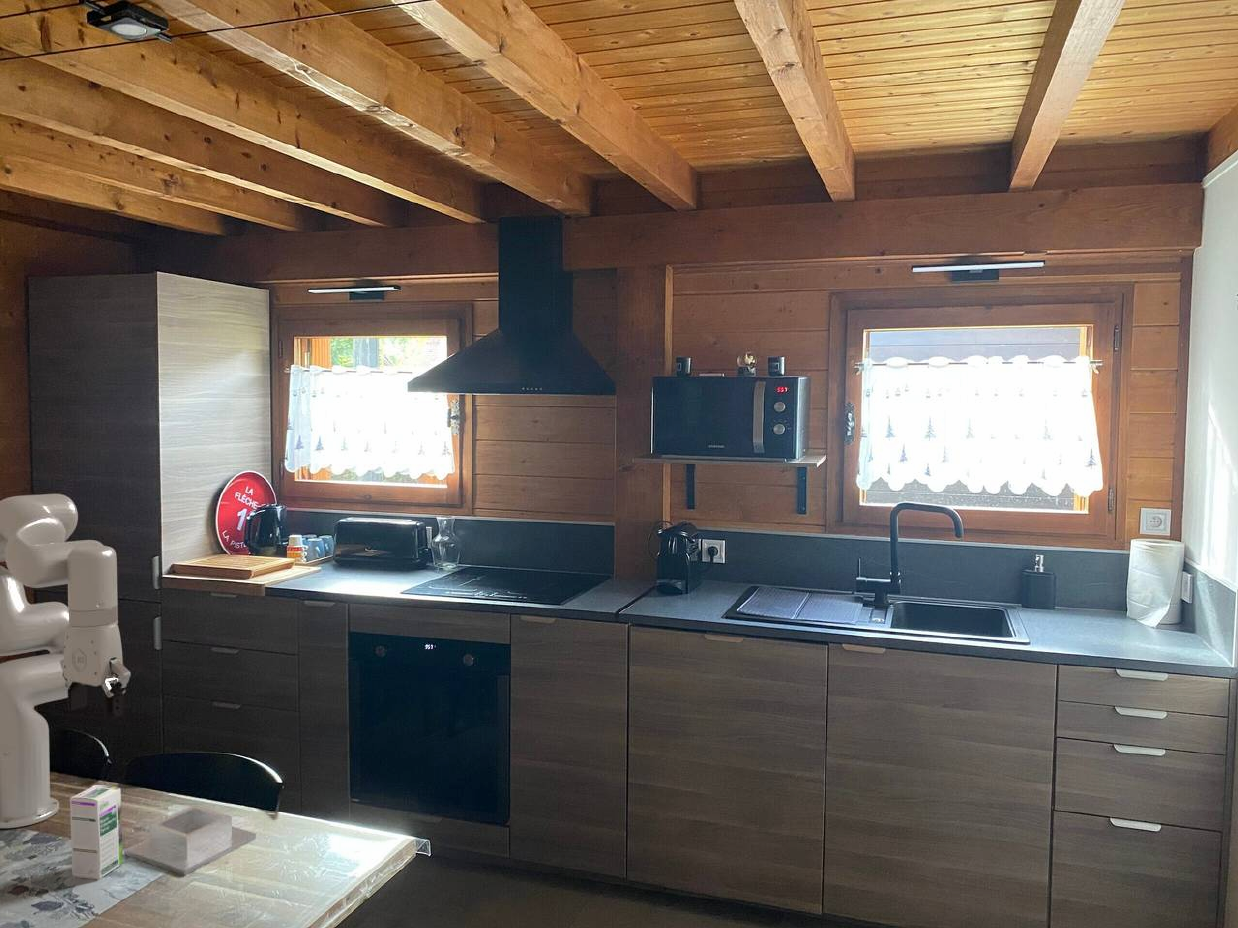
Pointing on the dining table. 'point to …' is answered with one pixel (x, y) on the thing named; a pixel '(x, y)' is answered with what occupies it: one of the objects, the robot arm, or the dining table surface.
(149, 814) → the dining table surface
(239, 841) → the sleeve holder
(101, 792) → the syrup box
